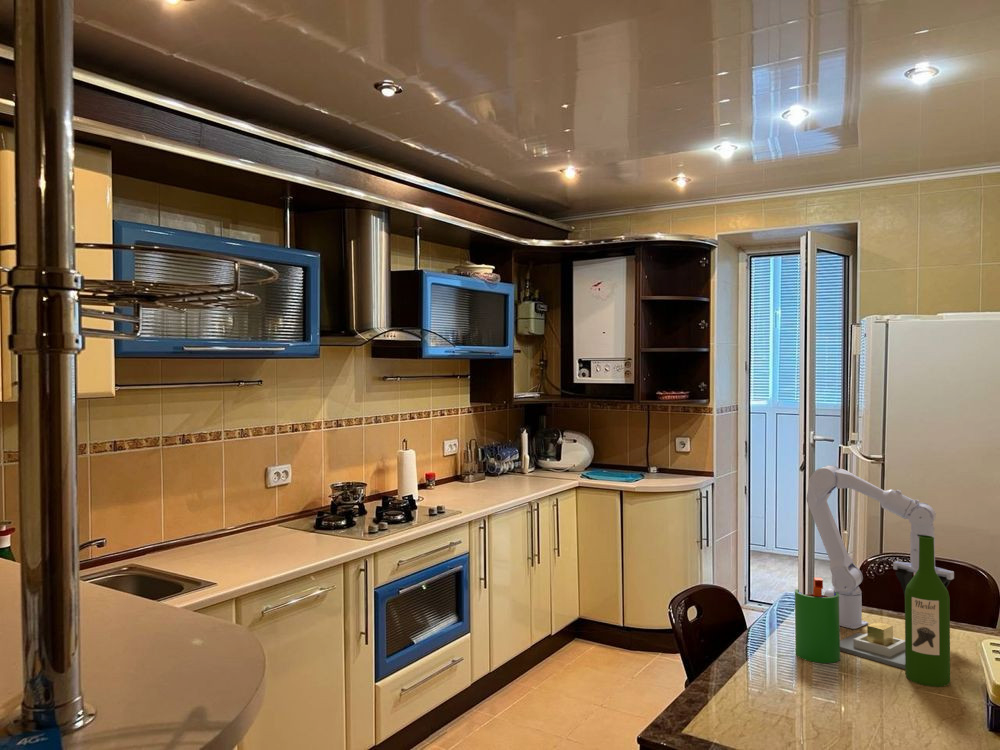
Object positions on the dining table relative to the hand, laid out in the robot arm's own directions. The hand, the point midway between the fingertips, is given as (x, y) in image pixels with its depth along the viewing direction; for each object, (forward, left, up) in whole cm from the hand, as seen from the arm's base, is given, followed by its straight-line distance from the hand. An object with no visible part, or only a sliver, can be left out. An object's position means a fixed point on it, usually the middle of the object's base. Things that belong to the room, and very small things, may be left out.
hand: (923, 601), depth 201 cm
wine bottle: (+13, -29, -10) cm, 33 cm away
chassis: (-2, -20, -9) cm, 22 cm away
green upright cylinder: (-10, -35, -10) cm, 38 cm away
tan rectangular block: (-2, -20, -8) cm, 22 cm away
